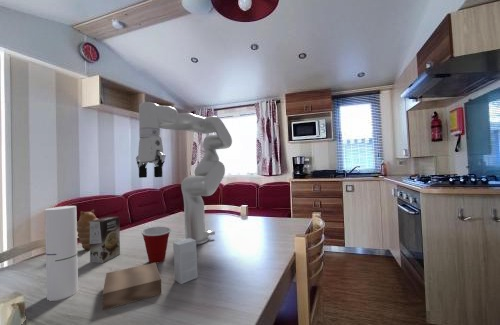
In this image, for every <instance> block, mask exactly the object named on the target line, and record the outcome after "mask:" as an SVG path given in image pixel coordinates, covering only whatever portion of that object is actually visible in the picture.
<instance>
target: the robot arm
mask: <svg viewBox="0 0 500 325" xmlns="http://www.w3.org/2000/svg"><path fill="white" fill-rule="evenodd" d="M138 126H139V130H138V131H139V134H138V135H139V136H138V137H139V139H138V140H139V141H138V155H137V156H136V157H135V160H136V165H137V168H138V178H147V176H148V171H147V170H148V169H147V166H148V164H153V165H154V166H153V170H154V171H153V175H154V176H153V177H154V178H162V177H163V167H164V163H165V160H166V156H167V155H166V154H165V153H164V148H163V141H162V138H161V129H164V130H171V131H172V130H173V131H174V130H175V131H182V132H183V131H185V132H192V133H198V134H203V135H205V134H209V135H206V136H205V137H204V138H203V149H204V155H203V157H202V158H201V160H200V161H199V162H198V164H197V165H196V167H195V169H194V175H191V176H190V175H189V176H187V177H185V178H183V180H182V181H181V184H180V185H181V186H180V188H181V193H182V197H183V209H184V211H183V214H184V238H182V240H185V239H188V238H191V239H193V240H196V246H197V245H202V244H205V243H207V242H208V241H209V238H210V236H213V235H216V232H215V230H212V231H211V230H208V231H207V230H206V223H205V220H206V218H205V216H206V215H205V202H204V200H203V197H209V196H213V194H214V193H215V192H216V191H217V189H218V188H219V185H221V182H222V181H223V179H224V176H225V174H226V167H225V165H224V163H223V162H222V161H220V158H219V155H218V153H217V150H225V149H228V148H230V147H231V146H232V144H233V139H232V136H231V133H230V132H229V130H228V128H227V127H226V125H225V124H224V122H223V121H222V119H221V118H220V117H218V116H217V115H211V116H205V117H204V116H200V115H196V114H193V113H191V112H183V113H181V112H180V113H179V111H178V110H177V109H176V108H175V107H172V106H169V105H160V104H157V103H155V102H150V101H149V102H148V101H145V102H141V103H140V104H139V105H138Z"/></svg>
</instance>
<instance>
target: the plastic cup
mask: <svg viewBox="0 0 500 325" xmlns="http://www.w3.org/2000/svg"><path fill="white" fill-rule="evenodd" d="M171 231H172V228H170V227H169V226H162V225H161V226H151V227H147V228H144V229H143V230H141V235H142V237H143V240H144V245H145V250H146V255H147V259H148V262H149V264H151V263H156V264H158V263H161V262H164V261H165V260H166V255H167V250H168V248H167V247H168V240H169V237H170V233H171Z"/></svg>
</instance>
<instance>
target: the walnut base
mask: <svg viewBox="0 0 500 325" xmlns="http://www.w3.org/2000/svg"><path fill="white" fill-rule="evenodd" d="M158 269H159V268H158V267H157V263H147V264H142V265H137V266H132V267H128V268H124V269H120V270H119V269H118V270H115V271H110V272H106V275H105V278H104V279H105V280H104V284H103V290H102V310H108V309H111V308H114V307H115V308H116V307H118V306H122V305H125V304H130V303H133V302H136V301H140V300H144V299H147V298H151V297H154V296H158V295H162V294H163V293H162V278H161V277H162V276H161V274H160V271H159V270H158Z"/></svg>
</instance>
